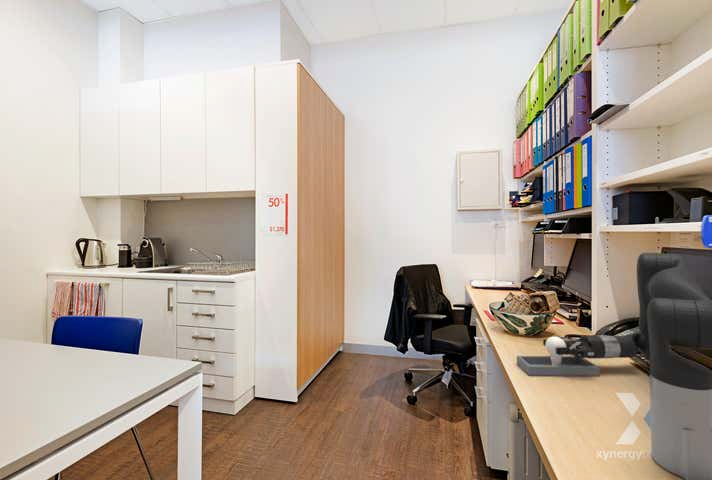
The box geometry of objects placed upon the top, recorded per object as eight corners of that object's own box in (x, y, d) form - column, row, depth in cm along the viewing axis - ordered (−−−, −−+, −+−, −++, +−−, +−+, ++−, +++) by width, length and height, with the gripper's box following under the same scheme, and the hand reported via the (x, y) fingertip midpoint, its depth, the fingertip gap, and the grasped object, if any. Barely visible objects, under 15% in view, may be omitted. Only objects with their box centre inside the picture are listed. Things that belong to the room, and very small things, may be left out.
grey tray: (599, 376, 106) (599, 367, 106) (529, 375, 108) (529, 366, 108) (580, 364, 116) (580, 356, 116) (516, 364, 118) (516, 355, 118)
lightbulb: (546, 370, 111) (545, 338, 111) (545, 364, 116) (544, 333, 116) (567, 373, 108) (566, 340, 108) (566, 366, 113) (565, 335, 113)
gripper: (585, 329, 118) (539, 330, 119) (614, 342, 104) (560, 342, 105) (586, 350, 118) (539, 350, 119) (614, 365, 104) (561, 365, 105)
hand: (549, 346), depth 112 cm, fingers open, 8 cm apart
